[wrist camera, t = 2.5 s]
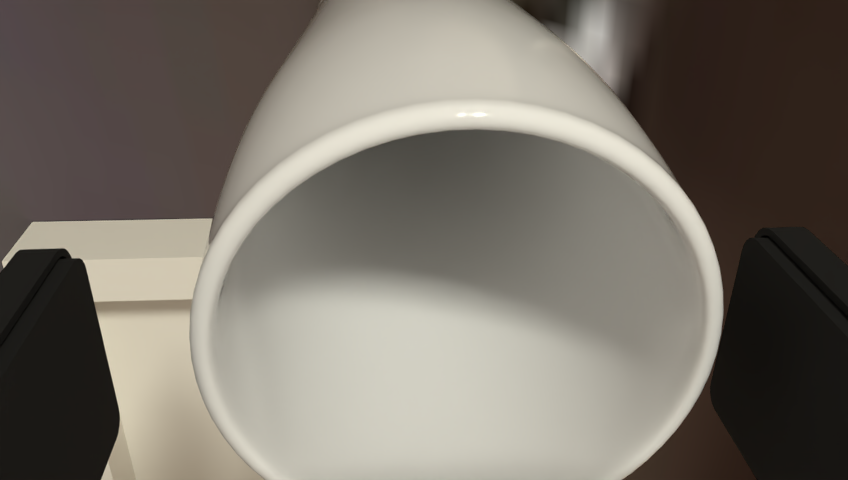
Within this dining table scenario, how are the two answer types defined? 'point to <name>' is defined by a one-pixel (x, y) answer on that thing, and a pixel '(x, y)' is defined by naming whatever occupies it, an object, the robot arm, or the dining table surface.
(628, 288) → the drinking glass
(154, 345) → the tray
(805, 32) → the dining table surface
